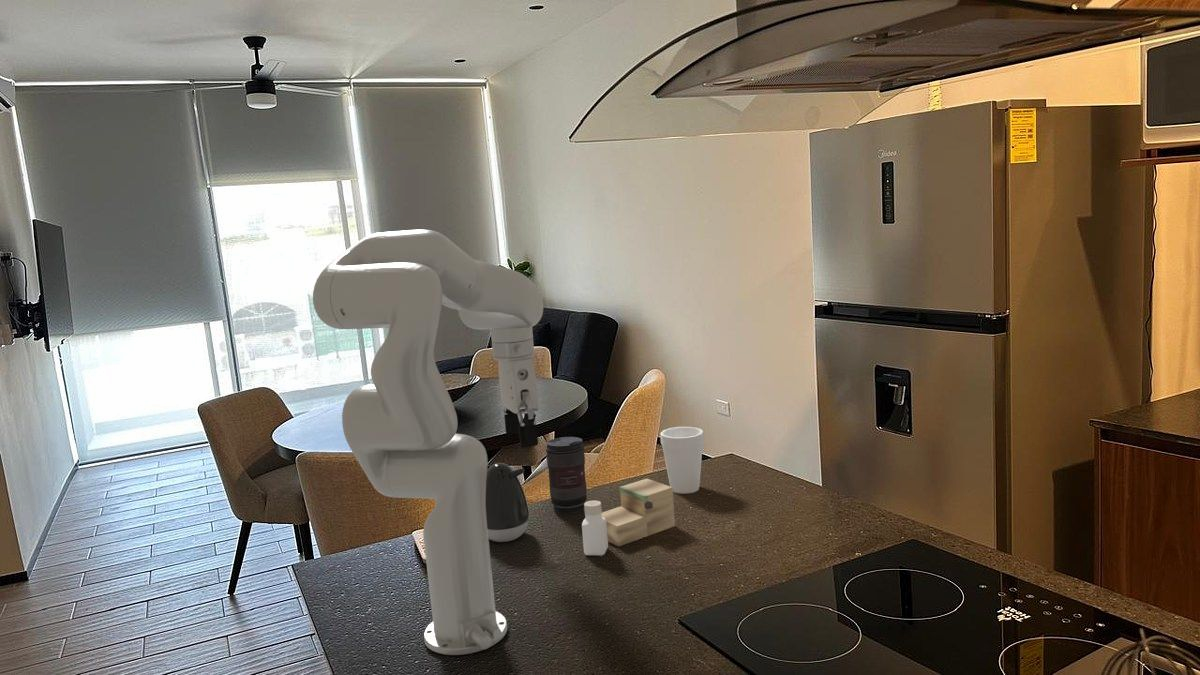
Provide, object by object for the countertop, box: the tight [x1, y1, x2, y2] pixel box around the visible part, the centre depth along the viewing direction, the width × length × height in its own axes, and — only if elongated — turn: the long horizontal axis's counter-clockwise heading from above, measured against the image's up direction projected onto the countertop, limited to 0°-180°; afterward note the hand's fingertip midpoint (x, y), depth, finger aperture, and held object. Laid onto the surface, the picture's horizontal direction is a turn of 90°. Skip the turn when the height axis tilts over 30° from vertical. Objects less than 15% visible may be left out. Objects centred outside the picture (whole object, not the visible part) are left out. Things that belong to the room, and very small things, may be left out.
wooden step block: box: [602, 478, 676, 547], centre depth 163 cm, size 9×14×8 cm, turn 126°
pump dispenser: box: [486, 462, 531, 543], centre depth 165 cm, size 10×10×15 cm
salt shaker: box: [581, 500, 609, 556], centre depth 155 cm, size 4×4×10 cm
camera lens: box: [545, 436, 588, 515], centre depth 178 cm, size 8×8×15 cm
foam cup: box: [659, 426, 705, 495], centre depth 185 cm, size 10×9×13 cm
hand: (521, 439), depth 155 cm, fingers open, 9 cm apart
